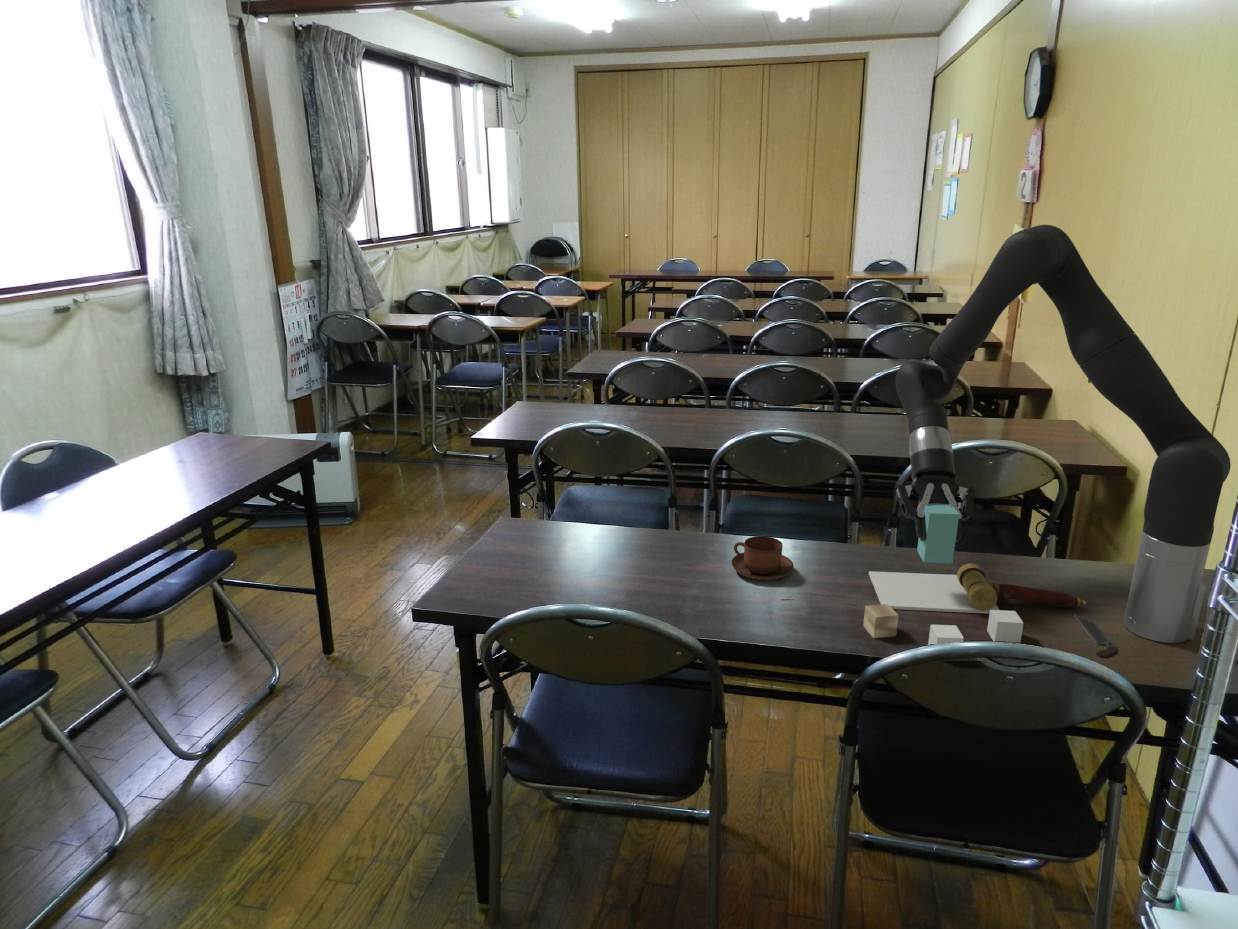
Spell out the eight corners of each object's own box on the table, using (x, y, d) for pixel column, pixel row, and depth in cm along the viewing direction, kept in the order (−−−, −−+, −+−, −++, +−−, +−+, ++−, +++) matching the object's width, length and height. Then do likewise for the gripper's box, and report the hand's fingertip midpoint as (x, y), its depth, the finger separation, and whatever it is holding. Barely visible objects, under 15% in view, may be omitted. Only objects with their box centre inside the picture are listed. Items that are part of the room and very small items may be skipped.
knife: (1124, 661, 127) (1125, 657, 126) (1097, 659, 127) (1098, 655, 127) (1089, 617, 140) (1090, 614, 140) (1064, 616, 140) (1065, 612, 140)
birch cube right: (885, 624, 138) (887, 603, 136) (896, 636, 134) (898, 615, 133) (863, 626, 137) (865, 605, 136) (873, 638, 133) (875, 617, 132)
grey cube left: (1011, 632, 135) (1015, 611, 134) (1019, 644, 131) (1023, 623, 130) (986, 630, 135) (990, 609, 134) (994, 643, 132) (997, 621, 130)
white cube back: (953, 647, 131) (956, 625, 129) (960, 660, 127) (963, 638, 126) (927, 646, 131) (930, 624, 130) (934, 659, 127) (937, 637, 126)
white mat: (975, 578, 154) (976, 575, 153) (999, 614, 140) (1000, 611, 140) (868, 574, 156) (869, 571, 156) (882, 608, 143) (883, 605, 143)
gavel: (1079, 579, 146) (1101, 605, 136) (1072, 601, 147) (1093, 628, 138) (959, 561, 148) (973, 585, 139) (954, 583, 150) (967, 608, 140)
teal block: (945, 551, 148) (951, 503, 145) (952, 563, 143) (959, 514, 140) (917, 550, 149) (923, 502, 146) (923, 562, 144) (929, 513, 141)
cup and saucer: (728, 582, 154) (729, 553, 152) (734, 556, 165) (735, 529, 163) (791, 588, 151) (793, 559, 149) (794, 562, 162) (795, 534, 160)
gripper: (896, 445, 148) (903, 531, 140) (977, 447, 146) (988, 534, 139) (887, 463, 155) (894, 546, 147) (964, 465, 153) (975, 549, 146)
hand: (940, 539), depth 143 cm, fingers closed on teal block, 5 cm apart
